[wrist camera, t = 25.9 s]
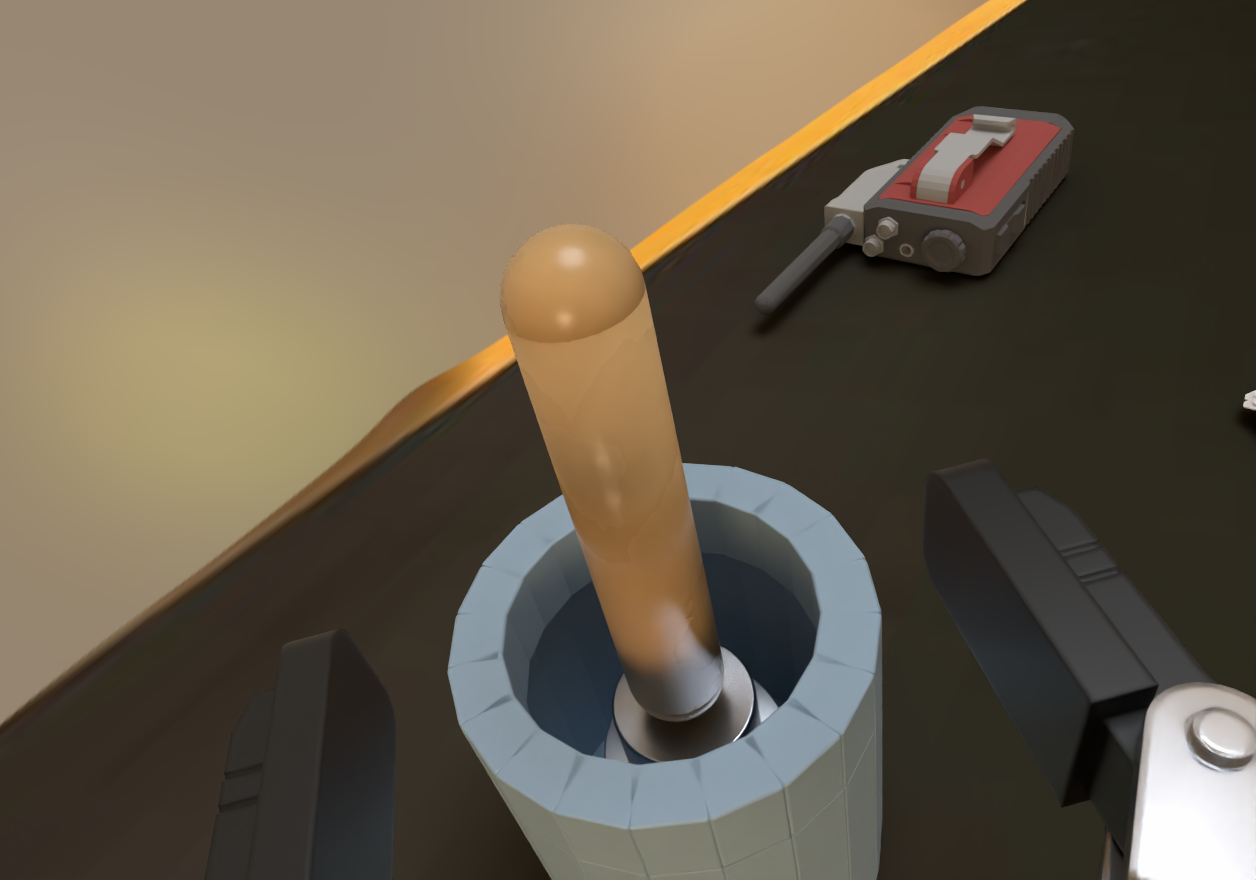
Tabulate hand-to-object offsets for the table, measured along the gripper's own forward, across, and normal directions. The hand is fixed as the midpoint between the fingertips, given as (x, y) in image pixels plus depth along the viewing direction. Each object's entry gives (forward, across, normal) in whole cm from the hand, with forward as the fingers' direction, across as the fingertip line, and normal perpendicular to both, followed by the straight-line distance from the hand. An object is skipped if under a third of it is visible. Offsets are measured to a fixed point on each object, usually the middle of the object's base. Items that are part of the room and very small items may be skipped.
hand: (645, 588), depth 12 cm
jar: (+4, 0, +16) cm, 16 cm away
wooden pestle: (+4, 0, +15) cm, 15 cm away
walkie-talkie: (+30, -18, +16) cm, 38 cm away
